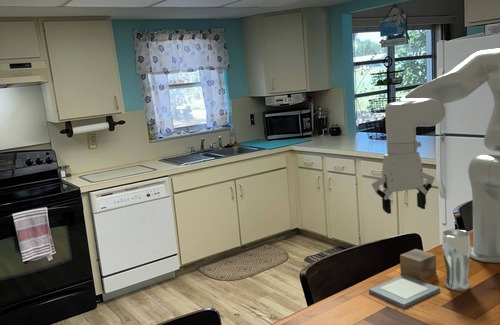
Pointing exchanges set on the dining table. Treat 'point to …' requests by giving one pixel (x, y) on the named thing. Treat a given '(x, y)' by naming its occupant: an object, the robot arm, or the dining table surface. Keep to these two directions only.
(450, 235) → the metal cup
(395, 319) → the dining table surface
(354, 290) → the dining table surface
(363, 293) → the dining table surface
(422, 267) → the walnut block
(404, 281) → the board
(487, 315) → the dining table surface
